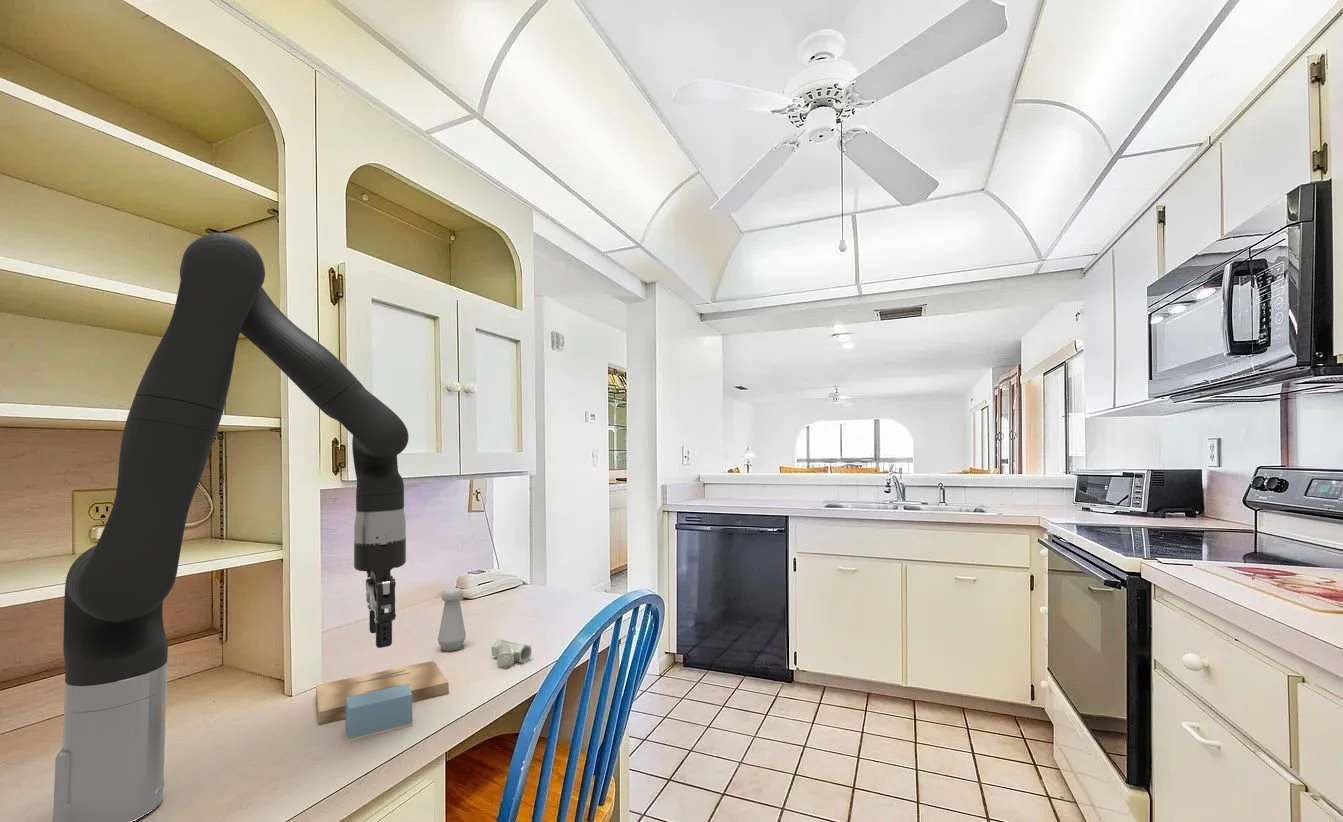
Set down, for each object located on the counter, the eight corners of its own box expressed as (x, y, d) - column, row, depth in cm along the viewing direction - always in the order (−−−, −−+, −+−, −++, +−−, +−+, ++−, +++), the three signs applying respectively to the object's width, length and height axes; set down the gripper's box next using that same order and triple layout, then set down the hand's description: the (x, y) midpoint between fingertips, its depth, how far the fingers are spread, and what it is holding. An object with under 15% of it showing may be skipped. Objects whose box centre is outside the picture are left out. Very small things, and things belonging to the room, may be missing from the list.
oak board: (318, 724, 93) (319, 711, 94) (316, 696, 104) (316, 684, 104) (448, 693, 104) (448, 682, 105) (433, 670, 115) (433, 660, 115)
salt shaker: (456, 653, 125) (456, 592, 126) (432, 652, 126) (432, 591, 127) (470, 644, 130) (470, 586, 131) (447, 643, 132) (448, 585, 132)
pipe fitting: (508, 674, 115) (531, 660, 121) (506, 654, 115) (530, 641, 120) (479, 667, 119) (504, 653, 124) (478, 648, 119) (502, 635, 124)
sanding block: (347, 742, 88) (348, 709, 88) (345, 729, 92) (346, 697, 92) (412, 726, 93) (412, 694, 93) (407, 714, 97) (407, 683, 97)
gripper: (350, 534, 98) (350, 632, 97) (358, 546, 86) (358, 657, 85) (398, 530, 102) (398, 623, 101) (413, 540, 90) (413, 646, 90)
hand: (380, 639), depth 93 cm, fingers open, 8 cm apart
